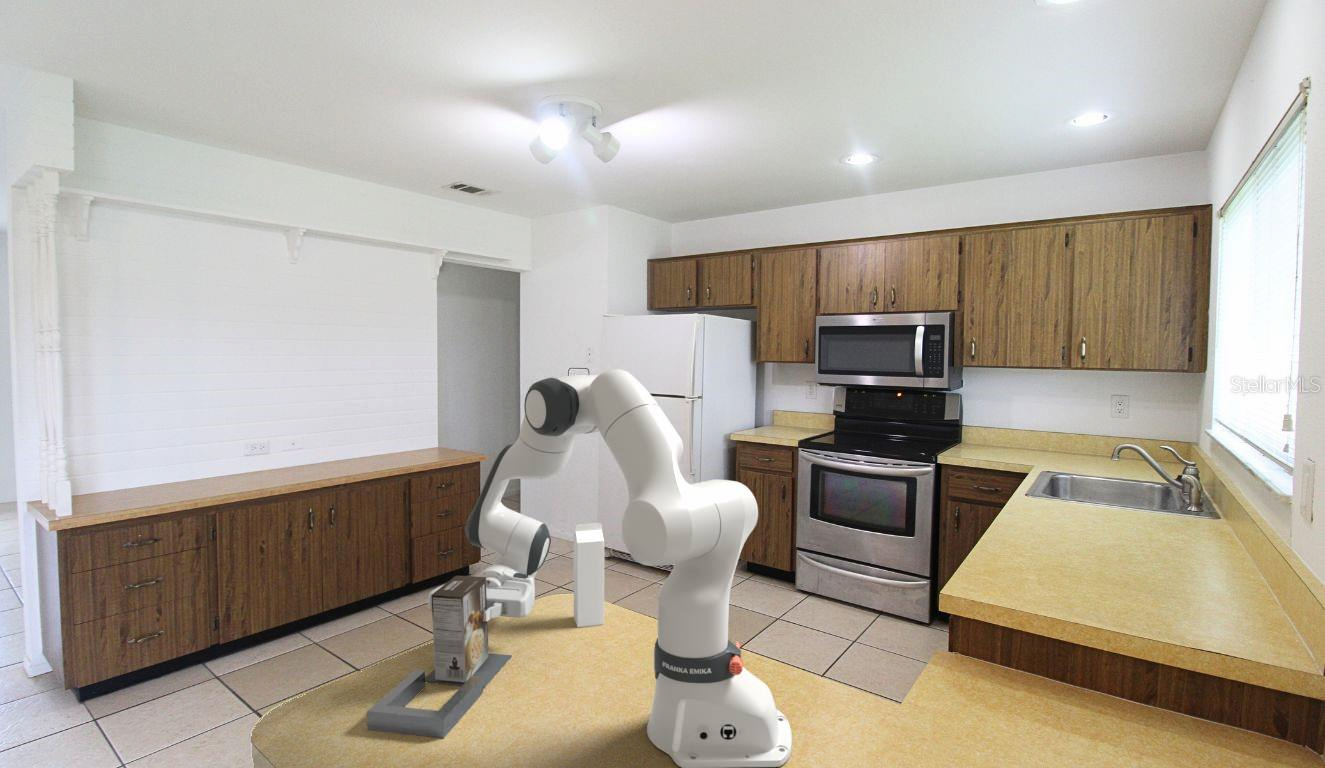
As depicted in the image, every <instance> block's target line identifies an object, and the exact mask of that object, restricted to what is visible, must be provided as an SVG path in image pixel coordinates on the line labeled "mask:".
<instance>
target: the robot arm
mask: <svg viewBox="0 0 1325 768" xmlns="http://www.w3.org/2000/svg"><path fill="white" fill-rule="evenodd" d="M523 406H524V417H523V419H522V423H521V427H520V431H519V435H518V438H517V440H516V441H515V442H514V443H512V444H507V445H505V447H503V448H502V450H501V451H500V452H499V454H497V456H496V459H495V460H494V462H493V464H492V466H491V468H490V471H489V473H488V476H487V477H486V480H485V482H484V485H483V487H482V490H481V492H480V495H479V496H478V499H477V500H476V503H475V505H474V507H473V510H472V511H471V513H470V514H469V516H468V519H467V520H466V524H465V526H464V530H465V535H466V537H467V539H468V541H469V543H470V545H472V546H475V547H478V548H481V549H484V550H488V551H491V552H493V553H496V554H498V555H500V556H502V557H500V558H499V559H497V560H496V561H495V562H494V563H493V564H491V565H490V566H488V567H486V568H485V569H484V570H483V571H481V572H480V573H479V574H477V575H476V577H486V596H487V609H482V611H480V612H479V621H487V622H489V621H490V620H491V619H495V618H497V617H505V618H508V617H509V618H518V619H519V618H521V619H522V618H525V617H527V616H528V615H529V614H530V613H531V612H532V610H533V608H534V606H535V598H536V588H535V577H536V575H537V573H538V571H539V570H540V569H541V568H542V566H543V565H544V563H545V561H546V559H547V556H548V554H549V551H550V547H551V545H552V544H551V541H552V539H551V535H550V530H549V528H548V526H547V524H546V523H544V522H542V521H539V520H537V519H535V518H533V517H530V516H527V515H525V514H522V513H520V512H517V511H516V510H513V509H510V508H508V507H507V506H505V505H504V504H503V503H502V498H503V497H504V494H505V491H506V489H507V487H508V484H509V482H510V480H517V479H518V480H519V479H521V480H531V481H532V480H538V481H539V480H545V479H548V478H551V477H554V476H556V475H557V474H559V473H560V472H562V471H563V470H564V469H565V468H566V466H567V464H568V463H569V461H570V458H571V456H572V452H573V447H574V444H575V440H576V435H581V434H584V435H585V434H592V433H597V432H599V433H600V435H601V437H602V438H603V440H604V442H605V444H606V446H607V447H608V449H609V450H610V452H611V454H612V456H613V458H614V460H615V461H616V463H617V464H618V467H619V469H620V470H621V472H622V474H623V476H624V479H625V482H626V485H627V489H628V490H627V491H628V503H627V507H626V509H625V511H624V513H623V516H622V520H621V536H622V537H621V538H622V540H623V543H624V546H625V548H626V550H627V552H628V553H629V554H630V556H631V557H632V558H633V560H635V561H636V562H638V563H639V564H641V565H643V566H649V567H650V566H651V567H652V566H670V565H671V566H673V567H672V570H671V572H670V574H669V575H668V576H667V578H666V579H665V580H664V581H663V583H662V584H661V587H660V589H659V592H658V594H657V637H656V640H655V643H654V649H653V671H654V678H655V687H654V688H655V689H654V694H653V695H654V696H653V702H652V707H651V712H650V714H649V715H650V716H649V719H648V722H647V724H646V725H647V726H646V735H647V737H648V739H649V741H650V742H651V743H652V744H653V745H654V746H655V747H656V748H657V749H659V750H661V751H663V752H665V754H667V755H669V756H670V757H671V759H672V760H673V762H674V763H675V764H676V765H677V766H678V767H681V768H776V767H778V768H779V767H781V766H782V765H784V764H785V763H786V762H787V761H788V759H789V758H790V755H791V753H792V749H793V748H792V747H793V737H792V729H791V726H790V722H789V720H788V719H787V717H786V715H784V713H782V712H781V711H780V710H779V709H777V707H776V702H775V699H774V696H773V693H772V690H771V689H770V688H769V686H768V685H767V684H766V683H765V682H764V681H763V680H761V679H759V678H758V677H756V676H755V675H754V674H753V673H751V671H749V670H747V668H745V667H744V666H743V665H744V662H743V660H742V649H740V647H741V646H740V643H739V641H738V640H737V641H736V644H735V643H733V641H731V640H730V639H729V615H730V614H729V612H730V611H729V610H730V595H731V589H732V583H733V580H734V577H735V572H736V569H737V566H738V562H739V559H740V555H741V554H742V553H741V552H742V550H743V548H744V545H745V543H746V541H747V540H748V538H749V536H750V535H751V533H752V532H753V531H754V529H755V527H756V526H757V524H758V519H759V507H758V503H757V500H756V498H755V497H756V496H754V493H753V492H752V491H751V490H750V488H748V486H747V485H745V484H743V483H741V482H739V481H736V480H729V479H719V478H718V479H717V478H716V479H709V480H705V481H704V480H703V481H700V482H695V483H689V482H688V481H686V480H685V477H683V475H682V472H681V469H680V466H679V463H680V461H681V459H682V457H683V453H684V443H683V440H682V438H681V436H680V434H679V433H678V432H677V430H676V428H675V427H674V425H672V422H671V421H670V420H669V418H668V416H666V414H665V413H664V411H663V409H662V407H660V405H659V403H658V402H657V401H656V399H655V398H654V397H653V395H652V394H651V393H650V391H648V390H647V388H646V387H645V386H644V385H643V384H642V383H641V382H640V381H639V380H638V379H637V378H636V377H635V376H634V375H632V373H631V372H629V371H627V370H626V369H625V370H624V369H621V368H620V369H619V368H618V369H617V368H615V369H609V370H606V371H605V372H601V374H583V373H582V374H570V375H565V376H560V377H547V378H544V379H540V380H539V381H535V382H534V383H533V384H531V385H530V387H529V388H528V390H527V392H526V394H525V399H524V405H523ZM445 584H446V583H444V584H441V585H439V586H438V587H436V588H435V589H433V590H431V591H430V592H429V594H428V608H429V610H430V611H431V612H432V596H431V595H432V594H433V593H434V592H436V591H437V590H438V589H440V588H441V587H442V586H443V585H445Z"/></svg>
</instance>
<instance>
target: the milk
mask: <svg viewBox="0 0 1325 768" xmlns="http://www.w3.org/2000/svg"><path fill="white" fill-rule="evenodd" d="M602 527H603V525H602V523H601V522H596V523H595V522H594V523H584V524H583V523H580V524H576V525H575V529H574V530H575V532H574V533H573V619H574V621H575V624H576V627H577V628H584V627H594V626H602V625H605V539H604V534H603V528H602Z"/></svg>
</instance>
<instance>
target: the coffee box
mask: <svg viewBox="0 0 1325 768" xmlns="http://www.w3.org/2000/svg"><path fill="white" fill-rule="evenodd" d="M444 584H445V585H444ZM444 584H442V585H443V586H442V585H441V586H442V587H441V588H440V589H438V590H437V591H436V592H434V593H433V594H432V595H431V596H432V611H431V612H432V613H431V614H432V615H431V616H432V617H431V618H432V619H431V620H432V635H433V636H432V637H433V639H432V640H433V658H434V659H433V660H434V661H433V662H434V663H433V664H434V665H433V666H434V669H435V679H436V680H445V681H456V682H466V681H467V680H468V679H469V678H470V677H471V676H472V675H473V674H474V673H475V672H476V671H477V670H478V668H479V667H480V666H481V665H482V664H483V663H484V661H485V660H486V659H487V658H488V657H489V653H490V652H489V631H488V627H489V626H488V621H479V612H480V611H482V609H487V596H486V577H477V576H473V575H472V576H471V575H470V576H469V575H454V576H453V577H452V578H451V579H450V580H448V581H447V582H446V583H444Z"/></svg>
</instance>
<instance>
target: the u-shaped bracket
mask: <svg viewBox="0 0 1325 768" xmlns="http://www.w3.org/2000/svg"><path fill="white" fill-rule="evenodd" d="M425 677H426V670H424V669H423V670H419V669H414V670H413V671H411V672H410V674H408V675H407V676H406V677H405V678H404V679H402V680H401V681H400V682H399V683H397V685H395V686H394V687H393V688H392V689H391V690H390V691H389V692H387V693H386V694H385V695H384V696H383V697H381V698H380V699H379V700H378V701H377V702H376V703H375V704H374V705H372V706H371V707H370V708H369V709H368V710H367V711H366V723H367V725H366V726H367V730H368V731H375V732H376V731H377V732H382V733H383V732H386V733H394V734H402V735H411V736H420V737H431V738H439V739H445V738H446V736H447V735H448V734H449V733H450V732H451V731H452V730H453V728H454V727H455V726H456V725H457V724H458V723H459V722H460V720H461V719H462V718H463V716H465V715H466V713H467V712H468V711H469V710H470V709H471V708H472V706H474V704H475V703H476V702H477V701H478V700H479V698H480V697H481V696H482V695H483V694H484V688H483V676H477V675H472V676H471V677H470V678H469V679H468V680H467V681H466V682H465V683H464V684H463V686H460V687H459V688H458V689H457V691H456V692H455V693H454V694H453V695H451V697H450V698H449V699H448V700H447V701H446V702H445V703H444V704H443V705H442V707H440V709H438V710H436V709H435V710H433V709H425V708H424V709H423V708H415V707H406V706H407V705H408V704H409V703H410V702H412V700H414V699H415V698H416V697H417V696H418V695H419V694H420V693H421V692H422V691H423V690H424V689H425V688H426V683H425ZM424 687H425V688H424ZM422 689H423V690H422ZM420 691H421V692H420ZM419 692H420V693H419ZM418 693H419V694H418ZM482 693H483V694H482ZM417 694H418V695H417ZM416 695H417V696H416ZM415 696H416V697H415ZM414 697H415V698H414Z"/></svg>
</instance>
